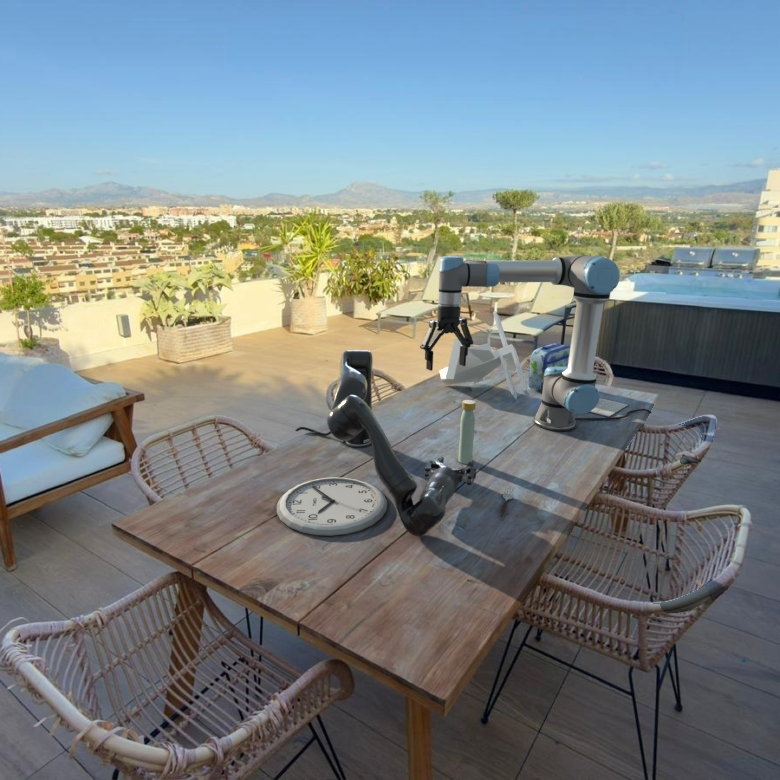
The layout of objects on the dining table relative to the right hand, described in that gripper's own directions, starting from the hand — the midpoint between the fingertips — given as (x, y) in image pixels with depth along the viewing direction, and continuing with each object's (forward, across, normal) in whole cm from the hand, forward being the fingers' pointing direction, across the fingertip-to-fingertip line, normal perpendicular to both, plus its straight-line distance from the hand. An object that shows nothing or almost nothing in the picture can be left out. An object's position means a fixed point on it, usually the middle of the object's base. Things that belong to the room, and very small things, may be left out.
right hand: (446, 367), depth 178 cm
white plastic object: (+28, -49, -41) cm, 70 cm away
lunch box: (+28, -84, -32) cm, 94 cm away
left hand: (+22, +13, +26) cm, 36 cm away
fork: (+28, +10, +45) cm, 53 cm away
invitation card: (+28, -84, -1) cm, 88 cm away
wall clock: (+28, +52, +23) cm, 63 cm away
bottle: (+28, +2, +16) cm, 32 cm away
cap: (+7, +2, +16) cm, 18 cm away
